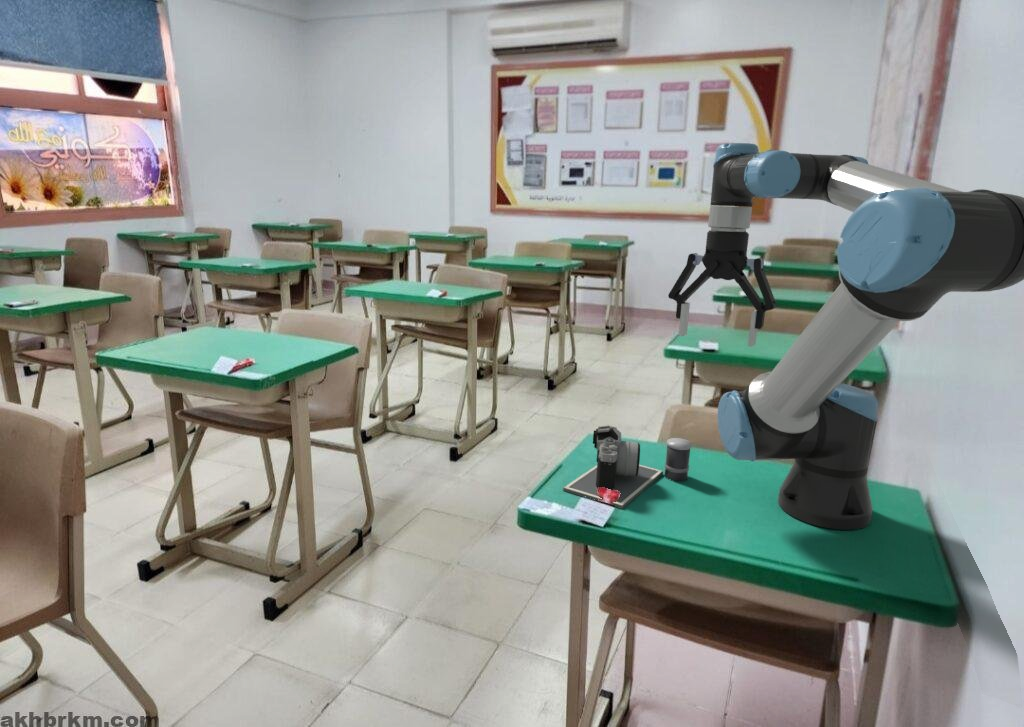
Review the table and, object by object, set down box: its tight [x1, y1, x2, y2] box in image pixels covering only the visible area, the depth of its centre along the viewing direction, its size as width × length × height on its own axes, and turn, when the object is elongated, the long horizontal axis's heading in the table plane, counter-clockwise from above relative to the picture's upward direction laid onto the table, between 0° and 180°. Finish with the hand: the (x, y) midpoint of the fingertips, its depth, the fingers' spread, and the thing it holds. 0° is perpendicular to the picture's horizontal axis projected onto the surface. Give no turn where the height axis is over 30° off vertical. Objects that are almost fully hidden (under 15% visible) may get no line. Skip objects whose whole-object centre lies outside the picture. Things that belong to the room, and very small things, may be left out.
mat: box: [562, 464, 664, 510], centre depth 125 cm, size 12×19×1 cm, turn 146°
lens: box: [664, 437, 693, 482], centre depth 128 cm, size 5×5×7 cm
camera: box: [592, 424, 641, 490], centre depth 124 cm, size 16×9×10 cm, turn 170°
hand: (716, 340), depth 128 cm, fingers open, 13 cm apart
